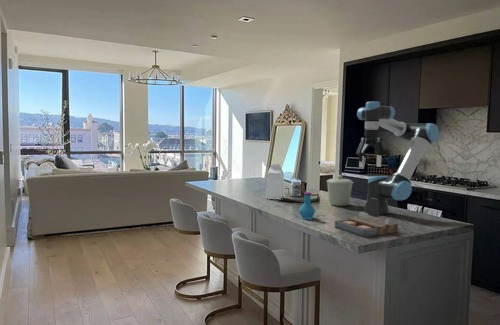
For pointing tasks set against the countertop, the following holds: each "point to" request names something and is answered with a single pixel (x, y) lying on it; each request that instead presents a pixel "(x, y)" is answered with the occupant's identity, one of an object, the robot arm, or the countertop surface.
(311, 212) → the perfume bottle
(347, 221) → the tile
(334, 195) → the canister
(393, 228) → the board
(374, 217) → the grey bar
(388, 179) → the robot arm
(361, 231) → the tray
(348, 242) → the countertop surface
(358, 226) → the tile
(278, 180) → the milk
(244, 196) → the countertop surface
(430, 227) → the countertop surface
